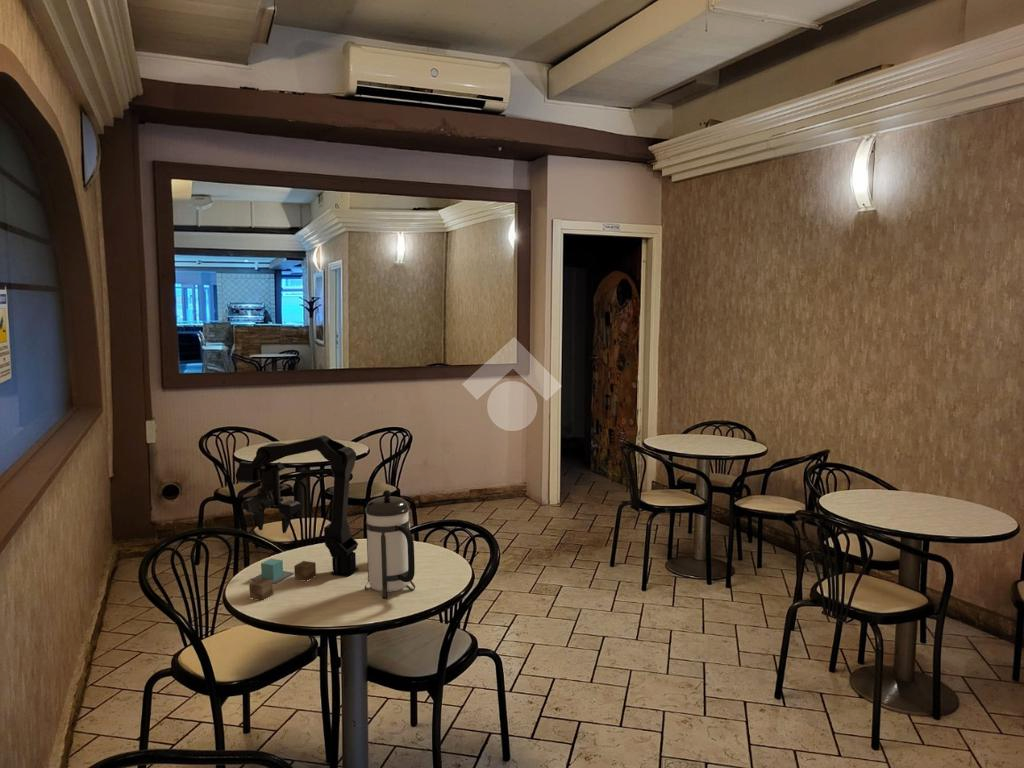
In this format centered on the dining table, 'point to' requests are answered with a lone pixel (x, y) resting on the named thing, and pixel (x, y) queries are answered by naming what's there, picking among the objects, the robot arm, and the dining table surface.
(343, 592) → the dining table surface
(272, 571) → the teal cube
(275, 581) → the slate tile
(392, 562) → the coffee press
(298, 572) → the walnut cube right
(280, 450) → the robot arm
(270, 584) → the walnut cube left
